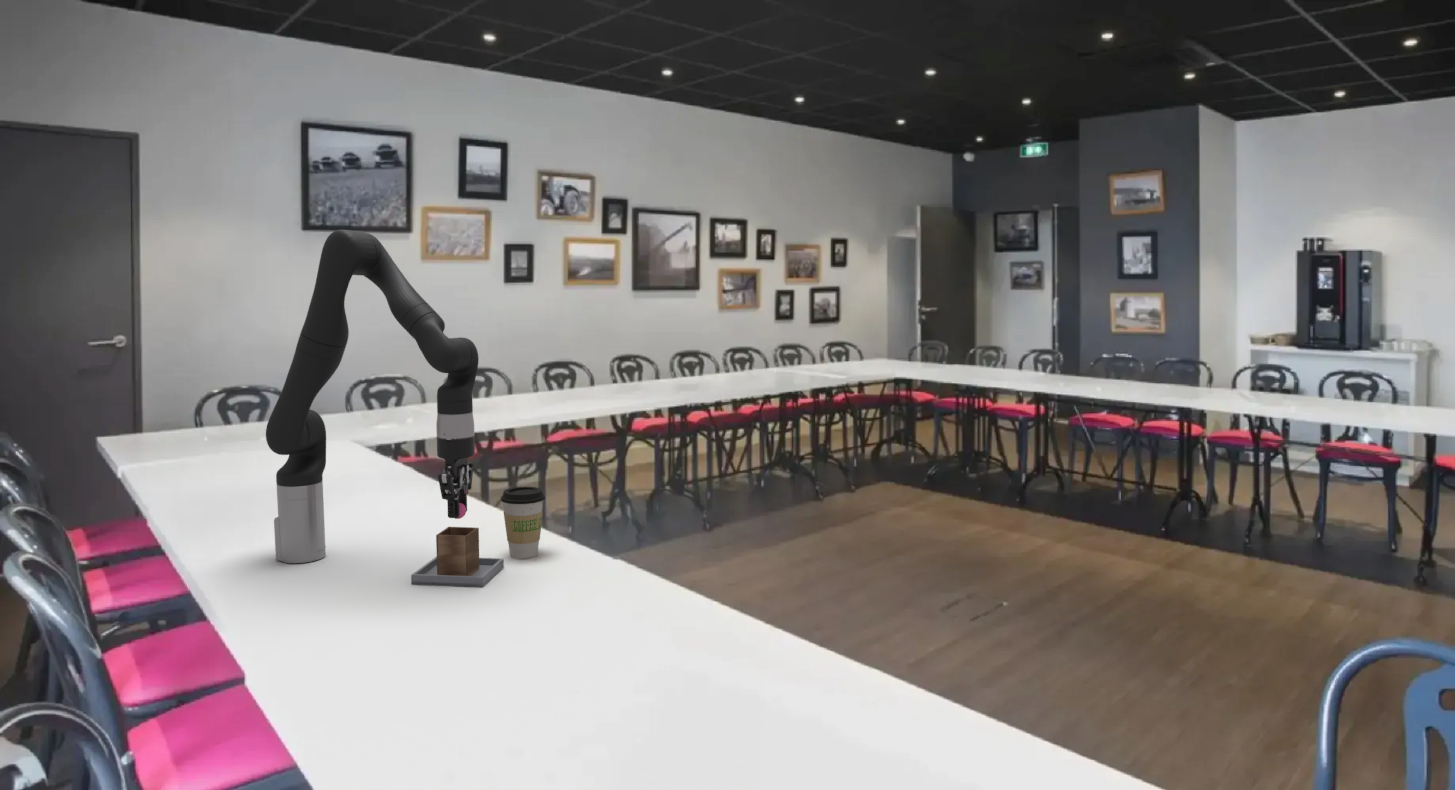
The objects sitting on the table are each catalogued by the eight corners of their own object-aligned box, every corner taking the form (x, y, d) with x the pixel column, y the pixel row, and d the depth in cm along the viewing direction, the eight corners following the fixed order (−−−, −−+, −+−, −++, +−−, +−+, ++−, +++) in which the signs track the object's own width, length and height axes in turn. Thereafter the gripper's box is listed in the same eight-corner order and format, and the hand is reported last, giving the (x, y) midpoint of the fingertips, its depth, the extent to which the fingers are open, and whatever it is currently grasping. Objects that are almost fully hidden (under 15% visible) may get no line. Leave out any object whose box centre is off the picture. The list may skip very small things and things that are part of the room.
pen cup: (437, 577, 183) (436, 535, 182) (449, 567, 190) (448, 526, 189) (468, 578, 183) (467, 536, 182) (479, 568, 189) (478, 527, 188)
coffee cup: (535, 562, 196) (534, 496, 194) (494, 559, 198) (492, 494, 196) (552, 550, 205) (551, 487, 204) (513, 547, 207) (512, 484, 206)
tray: (411, 584, 181) (411, 574, 180) (437, 565, 193) (436, 556, 193) (482, 587, 179) (482, 577, 179) (503, 567, 192) (503, 558, 192)
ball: (446, 520, 183) (446, 504, 183) (453, 516, 187) (452, 500, 186) (462, 520, 183) (462, 504, 183) (468, 516, 187) (468, 501, 186)
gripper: (451, 428, 190) (453, 506, 192) (423, 439, 176) (426, 523, 178) (485, 429, 190) (486, 507, 192) (460, 440, 176) (462, 524, 178)
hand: (457, 514), depth 185 cm, fingers open, 3 cm apart
